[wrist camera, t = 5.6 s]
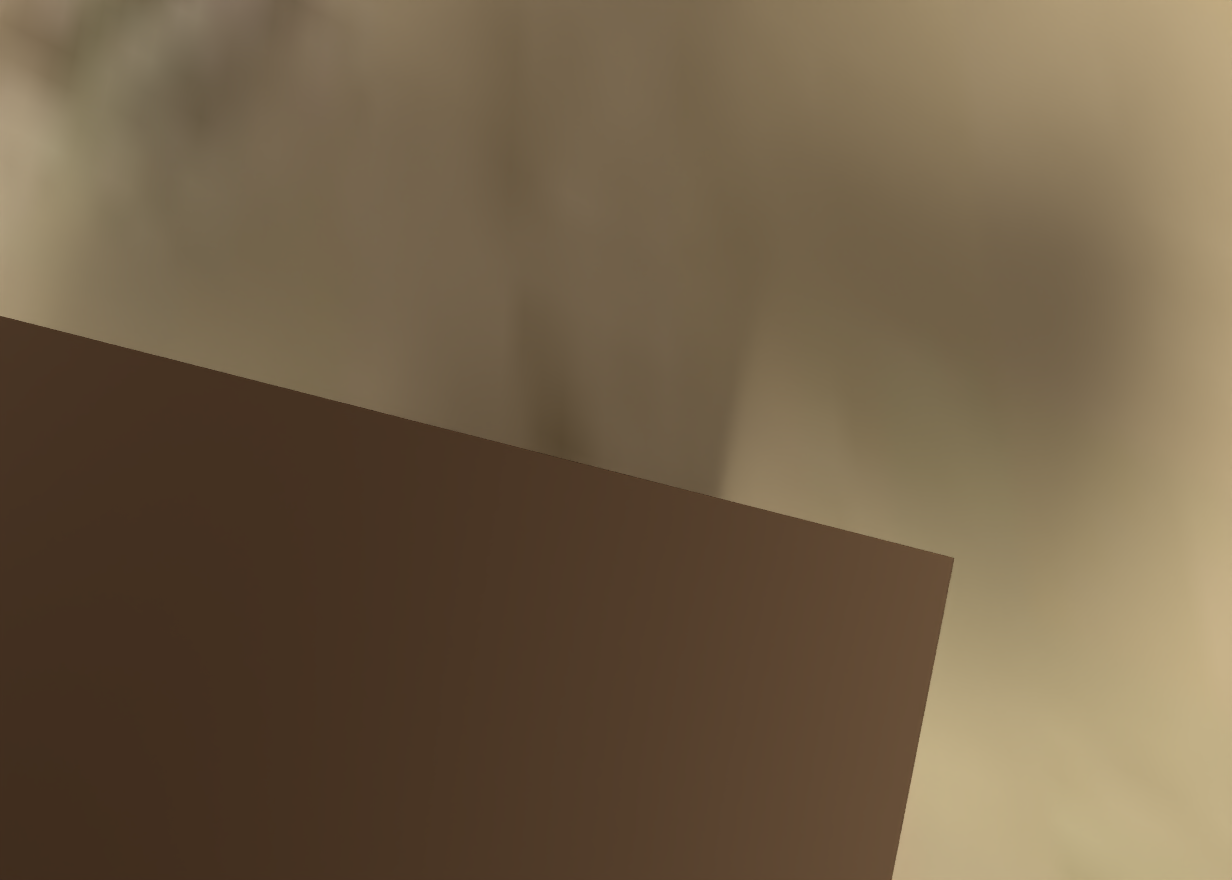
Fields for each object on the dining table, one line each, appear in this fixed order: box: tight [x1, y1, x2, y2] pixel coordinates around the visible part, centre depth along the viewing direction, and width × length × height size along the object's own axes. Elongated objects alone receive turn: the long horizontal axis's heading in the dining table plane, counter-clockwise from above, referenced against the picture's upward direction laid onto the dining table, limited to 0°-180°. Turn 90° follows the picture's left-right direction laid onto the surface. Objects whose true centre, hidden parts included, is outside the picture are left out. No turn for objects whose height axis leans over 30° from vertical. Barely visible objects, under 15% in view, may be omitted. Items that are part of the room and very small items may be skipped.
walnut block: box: [0, 316, 954, 880], centre depth 9 cm, size 5×5×13 cm
